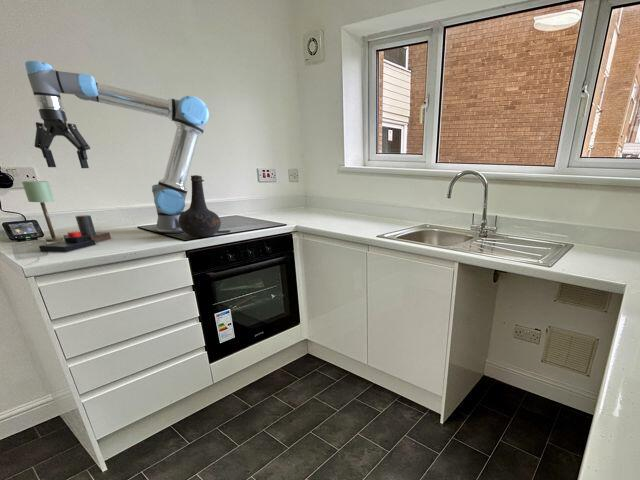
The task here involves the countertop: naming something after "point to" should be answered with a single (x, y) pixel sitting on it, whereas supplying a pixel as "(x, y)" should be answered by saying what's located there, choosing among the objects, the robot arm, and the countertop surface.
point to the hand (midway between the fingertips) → (68, 167)
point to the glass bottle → (199, 214)
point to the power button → (74, 234)
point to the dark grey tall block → (85, 225)
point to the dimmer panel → (98, 236)
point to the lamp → (41, 201)
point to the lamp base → (68, 244)
